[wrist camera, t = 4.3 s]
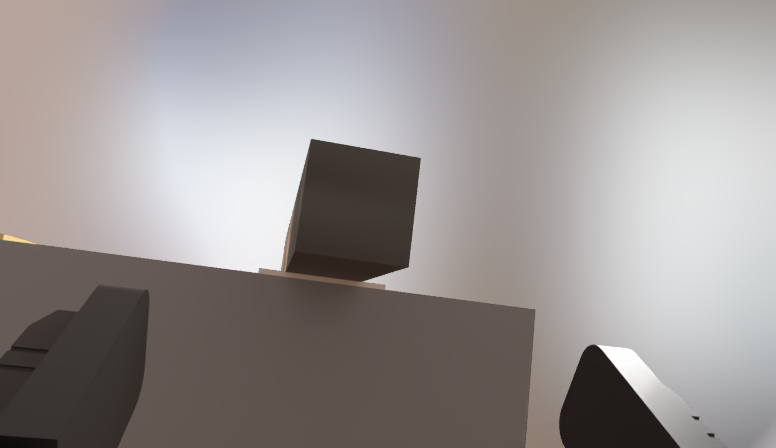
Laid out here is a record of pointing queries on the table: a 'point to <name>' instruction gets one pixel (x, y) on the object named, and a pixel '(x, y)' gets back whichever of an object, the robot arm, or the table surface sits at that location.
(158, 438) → the cabinet
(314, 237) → the dark brown square bar
